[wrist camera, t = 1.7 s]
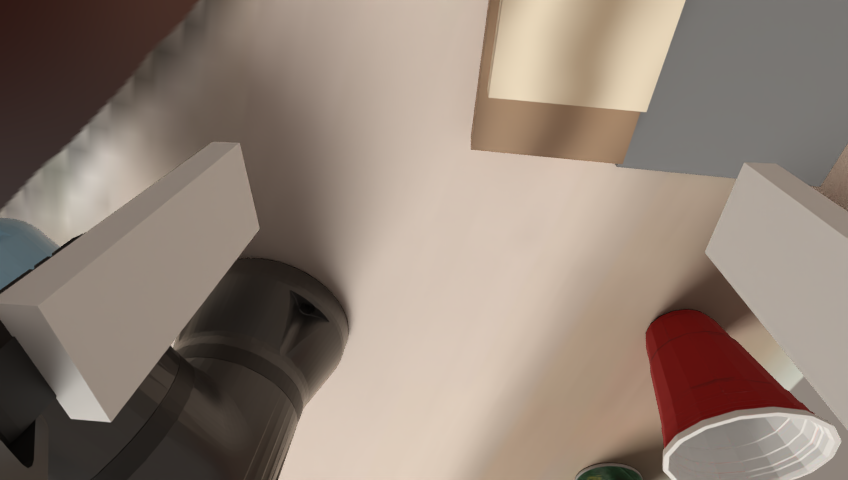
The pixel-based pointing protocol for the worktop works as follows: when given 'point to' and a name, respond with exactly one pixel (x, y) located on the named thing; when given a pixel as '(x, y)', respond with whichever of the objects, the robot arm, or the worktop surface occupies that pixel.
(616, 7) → the birch tile
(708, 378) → the plastic cup
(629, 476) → the canned tomato
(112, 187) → the worktop surface
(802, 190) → the robot arm
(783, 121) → the rubber mat
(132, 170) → the worktop surface
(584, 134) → the walnut deck
